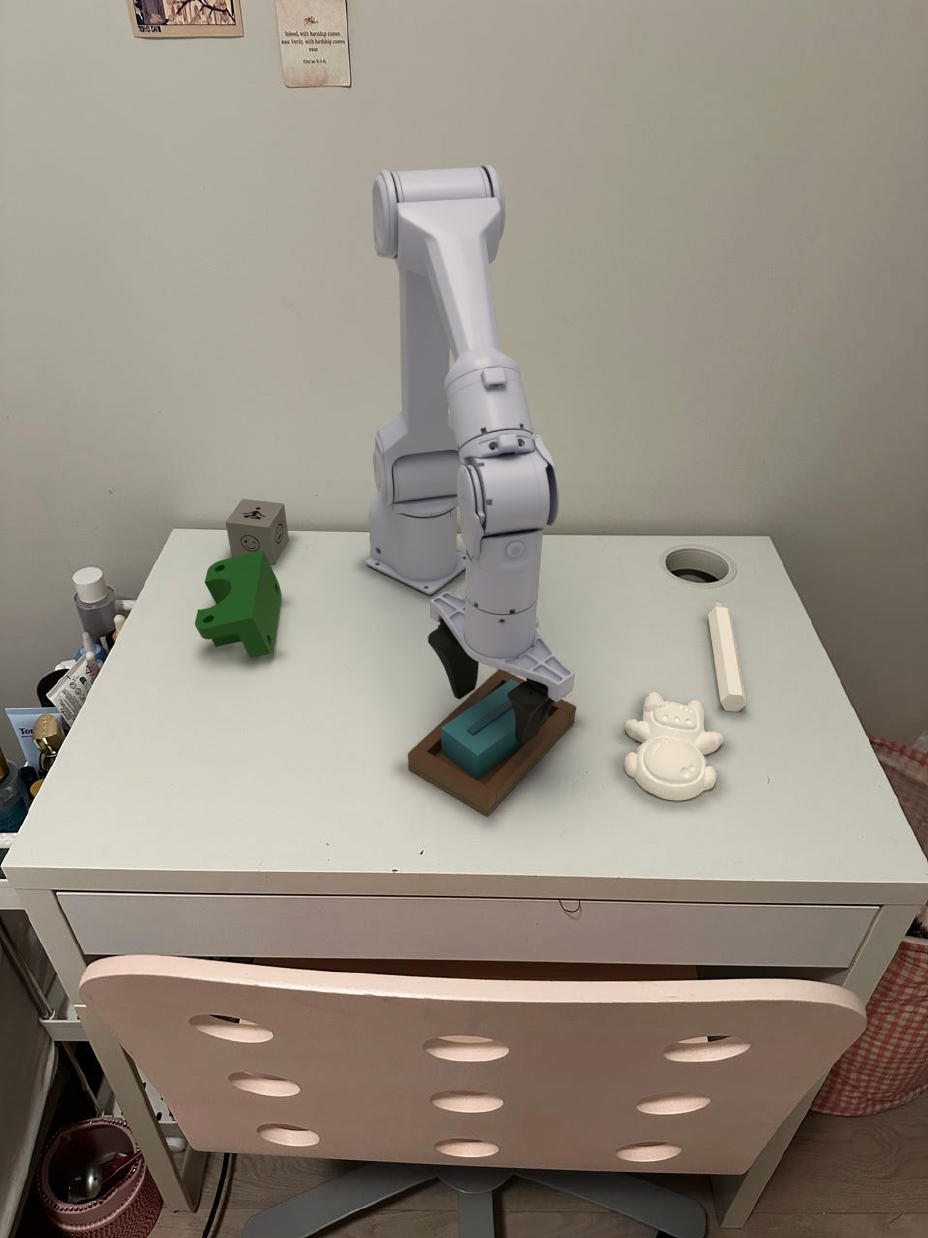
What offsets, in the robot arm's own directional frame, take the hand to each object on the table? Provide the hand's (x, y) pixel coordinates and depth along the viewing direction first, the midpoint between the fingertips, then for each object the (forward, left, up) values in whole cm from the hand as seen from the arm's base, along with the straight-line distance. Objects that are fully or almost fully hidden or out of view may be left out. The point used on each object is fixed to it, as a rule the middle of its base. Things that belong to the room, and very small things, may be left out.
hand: (495, 714), depth 82 cm
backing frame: (0, 0, -4) cm, 4 cm away
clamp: (-30, -3, -4) cm, 30 cm away
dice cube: (-39, +8, -4) cm, 40 cm away
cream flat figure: (+13, +9, -4) cm, 17 cm away
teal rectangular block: (0, 0, -3) cm, 3 cm away
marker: (+11, +24, -4) cm, 27 cm away
